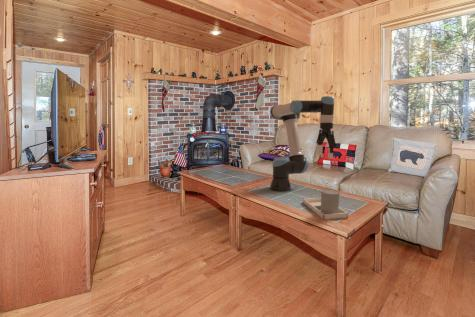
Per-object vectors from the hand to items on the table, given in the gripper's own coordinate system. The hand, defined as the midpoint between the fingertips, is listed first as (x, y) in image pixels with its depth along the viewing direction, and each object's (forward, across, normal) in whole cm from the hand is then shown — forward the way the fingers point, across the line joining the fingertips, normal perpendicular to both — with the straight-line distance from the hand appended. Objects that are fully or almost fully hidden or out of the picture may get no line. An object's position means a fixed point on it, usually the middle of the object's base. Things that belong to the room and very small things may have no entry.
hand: (325, 156), depth 167 cm
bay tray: (+29, -15, +7) cm, 33 cm away
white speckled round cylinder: (+28, -22, +7) cm, 36 cm away
